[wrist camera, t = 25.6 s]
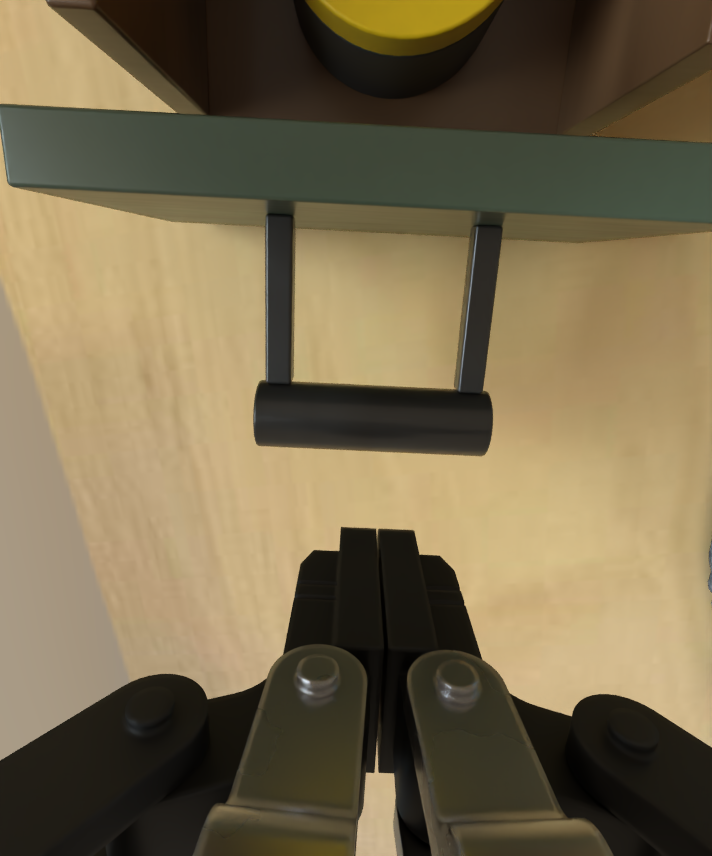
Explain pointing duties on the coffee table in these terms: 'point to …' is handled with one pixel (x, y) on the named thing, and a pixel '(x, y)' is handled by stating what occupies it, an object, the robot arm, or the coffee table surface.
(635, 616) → the coffee table surface
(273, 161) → the drawer
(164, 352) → the coffee table surface
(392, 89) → the cap
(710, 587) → the stone
